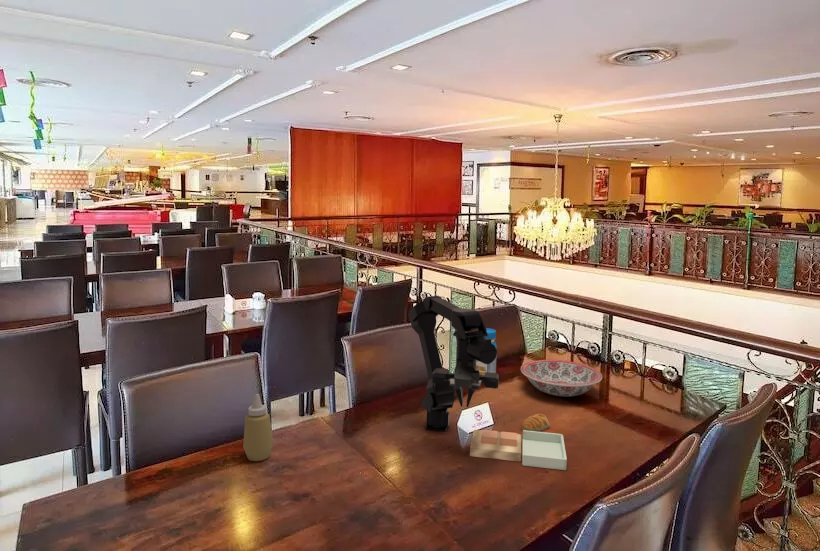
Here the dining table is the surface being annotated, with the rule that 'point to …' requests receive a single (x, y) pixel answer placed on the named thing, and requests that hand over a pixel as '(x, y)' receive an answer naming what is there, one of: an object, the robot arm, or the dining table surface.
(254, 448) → the squeeze bottle
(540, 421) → the pastry
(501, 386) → the dining table surface
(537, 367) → the ceramic bowl
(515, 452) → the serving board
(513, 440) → the tile
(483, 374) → the beverage bottle
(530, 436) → the tray
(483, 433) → the tile
